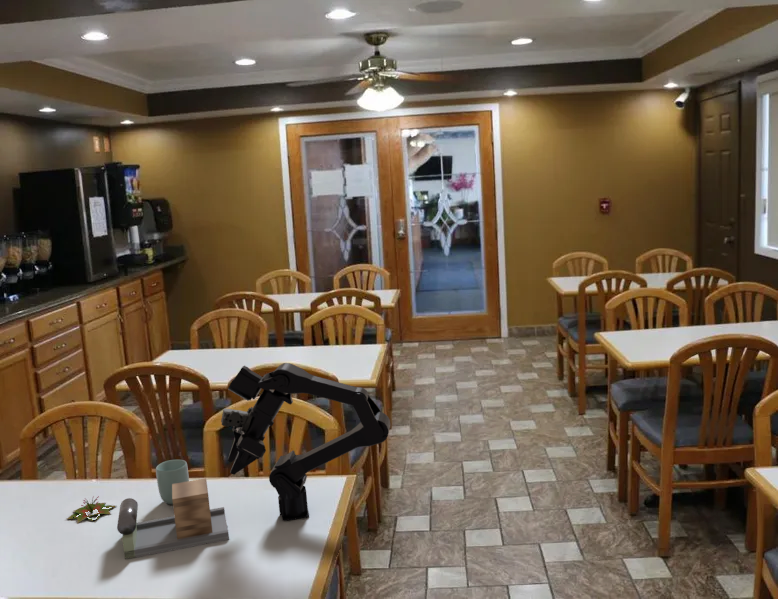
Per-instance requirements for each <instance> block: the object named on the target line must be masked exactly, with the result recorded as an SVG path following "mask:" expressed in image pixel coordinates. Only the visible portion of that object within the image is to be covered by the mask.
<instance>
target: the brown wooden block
mask: <svg viewBox="0 0 778 599" xmlns="http://www.w3.org/2000/svg"><path fill="white" fill-rule="evenodd" d="M207 482H208V481H207V477H206V478H200V479H199V478H198V479H195V480H189V481H187V482H181V483H176V484H172V500H173V504H172V508H173V514H174V515H173V516H174V517H175V525H176V533H177V539H182V538H187V537H193V536H198V535H203V534H208V533H213V532H212V523H211V514H210V509H211V506H210V498H209V497H210V496H209V491H208V483H207Z"/></svg>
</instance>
